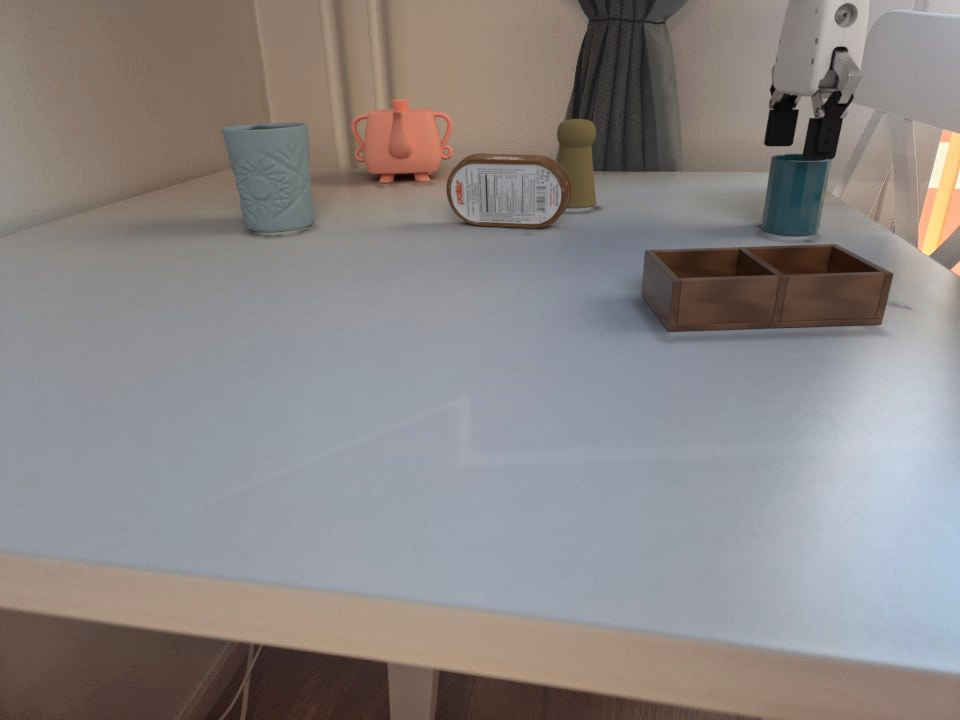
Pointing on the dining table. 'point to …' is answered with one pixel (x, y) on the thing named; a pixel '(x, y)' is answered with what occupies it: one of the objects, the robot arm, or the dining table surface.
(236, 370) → the dining table surface
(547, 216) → the tin
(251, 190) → the drinking glass
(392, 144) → the teapot
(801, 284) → the divided wooden box
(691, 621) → the dining table surface
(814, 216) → the cup
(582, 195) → the pepper mill
